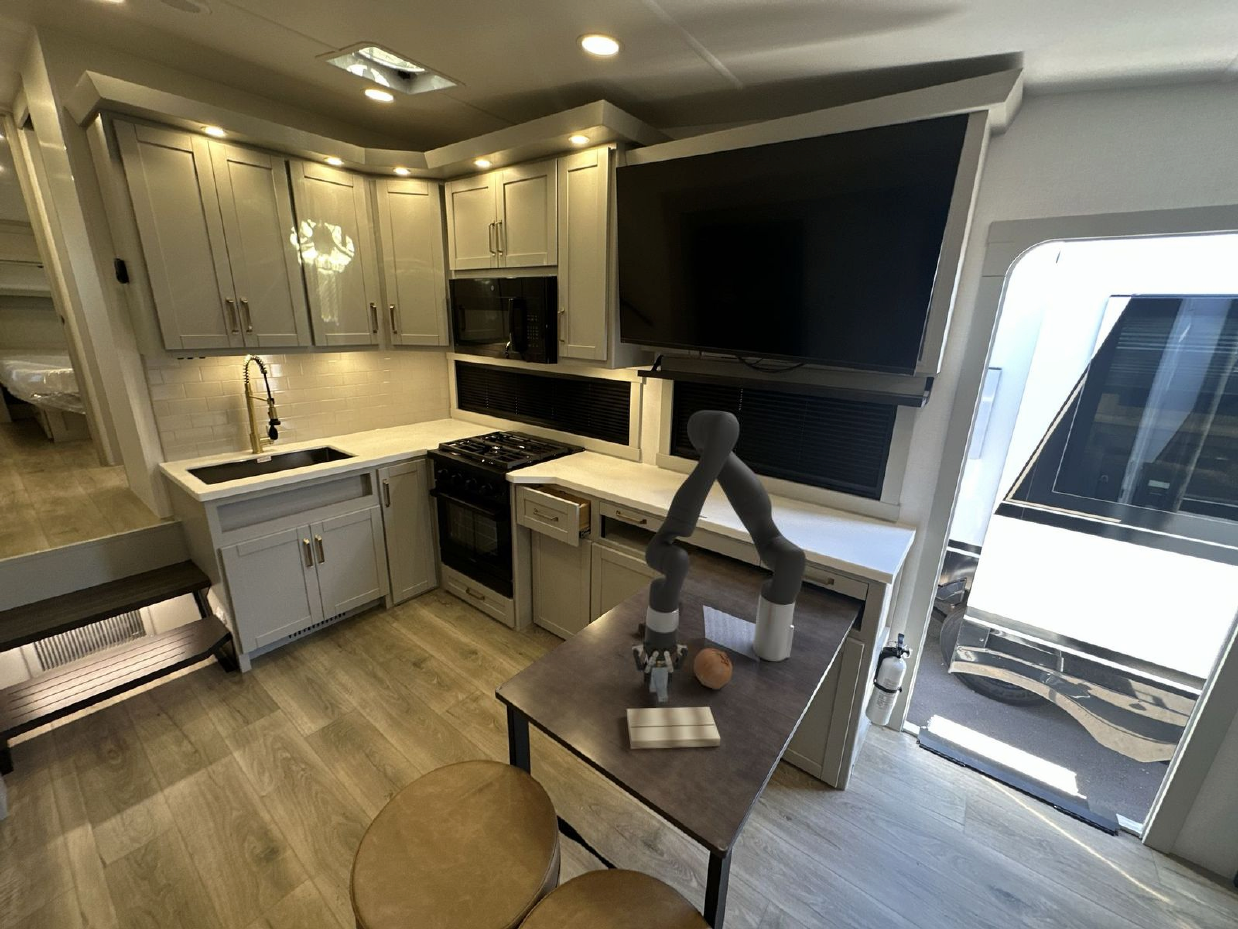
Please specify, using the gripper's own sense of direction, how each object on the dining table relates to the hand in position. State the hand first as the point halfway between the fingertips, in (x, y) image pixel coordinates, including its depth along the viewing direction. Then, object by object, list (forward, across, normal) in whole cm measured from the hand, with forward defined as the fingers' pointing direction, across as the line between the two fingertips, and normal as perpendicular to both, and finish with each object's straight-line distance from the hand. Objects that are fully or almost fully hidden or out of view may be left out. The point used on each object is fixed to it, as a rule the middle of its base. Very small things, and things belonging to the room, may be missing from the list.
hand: (657, 682), depth 121 cm
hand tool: (+2, -6, -27) cm, 28 cm away
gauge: (+1, 0, +3) cm, 3 cm away
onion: (+1, -14, -1) cm, 14 cm away
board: (+1, -1, +14) cm, 14 cm away
